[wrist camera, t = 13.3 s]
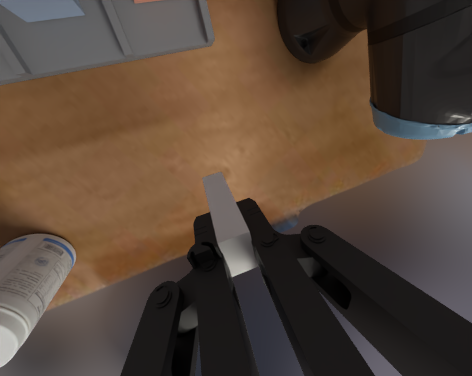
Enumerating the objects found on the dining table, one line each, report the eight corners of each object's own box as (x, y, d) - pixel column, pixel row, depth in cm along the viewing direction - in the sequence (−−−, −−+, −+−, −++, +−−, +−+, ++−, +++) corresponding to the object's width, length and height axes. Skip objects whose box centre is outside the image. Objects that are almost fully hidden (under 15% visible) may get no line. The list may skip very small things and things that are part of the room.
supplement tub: (9, 279, 30) (-115, 403, 17) (-3, 231, 27) (-163, 335, 14) (81, 273, 33) (24, 370, 20) (77, 230, 30) (8, 311, 18)
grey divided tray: (183, -68, 22) (186, -108, 18) (211, 46, 28) (217, 33, 24) (-227, -52, 15) (-370, -114, 11) (-84, 100, 20) (-146, 95, 16)
